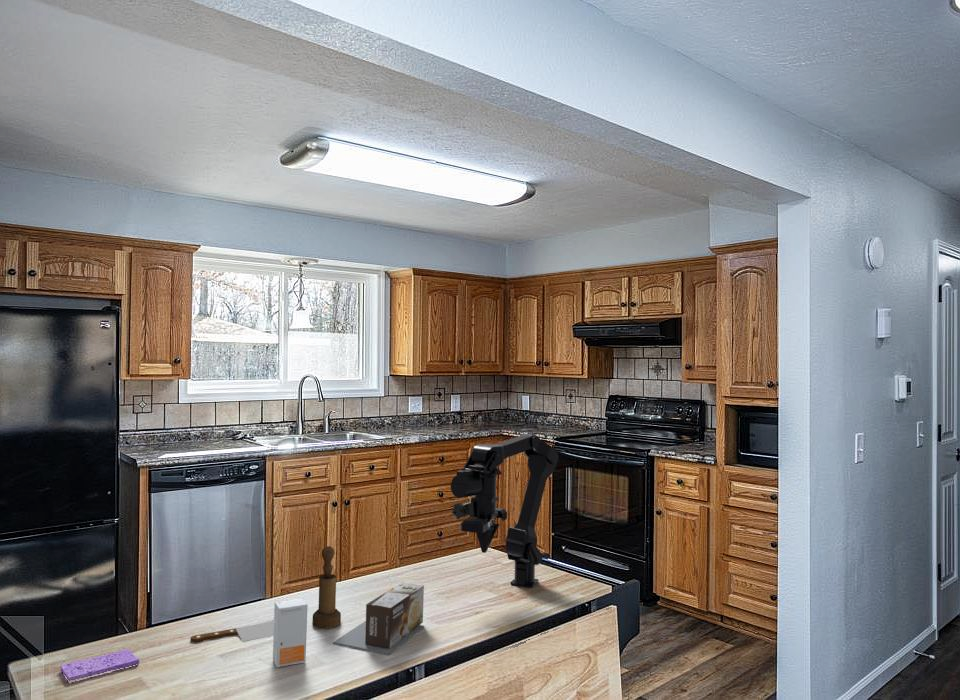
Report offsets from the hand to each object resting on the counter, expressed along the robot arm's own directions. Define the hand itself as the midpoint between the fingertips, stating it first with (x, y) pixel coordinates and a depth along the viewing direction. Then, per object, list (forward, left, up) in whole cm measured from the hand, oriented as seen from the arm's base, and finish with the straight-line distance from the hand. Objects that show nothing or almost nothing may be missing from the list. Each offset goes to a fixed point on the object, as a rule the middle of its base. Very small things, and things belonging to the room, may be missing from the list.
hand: (484, 552), depth 179 cm
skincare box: (+52, -22, -12) cm, 58 cm away
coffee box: (+23, -9, -7) cm, 26 cm away
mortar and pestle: (+32, -27, -12) cm, 44 cm away
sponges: (+70, -54, -13) cm, 89 cm away
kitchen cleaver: (+44, -39, -13) cm, 60 cm away
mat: (+33, -12, -12) cm, 37 cm away
